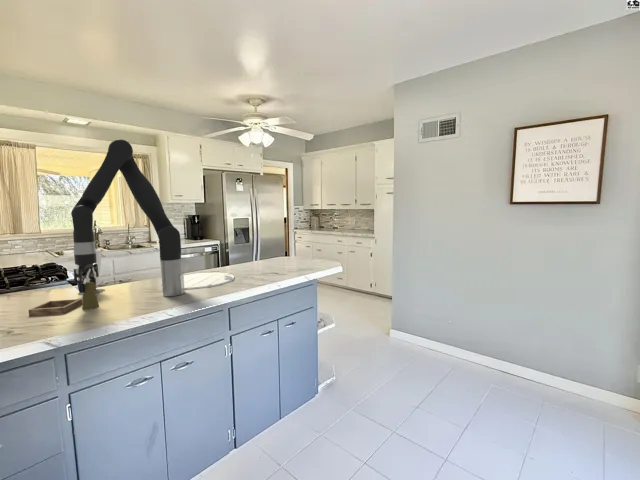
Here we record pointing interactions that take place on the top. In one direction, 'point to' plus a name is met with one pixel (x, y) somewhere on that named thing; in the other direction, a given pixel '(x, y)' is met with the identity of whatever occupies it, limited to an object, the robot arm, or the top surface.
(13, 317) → the top surface
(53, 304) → the box
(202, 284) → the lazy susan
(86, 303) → the olive brown tapered block
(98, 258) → the cup
